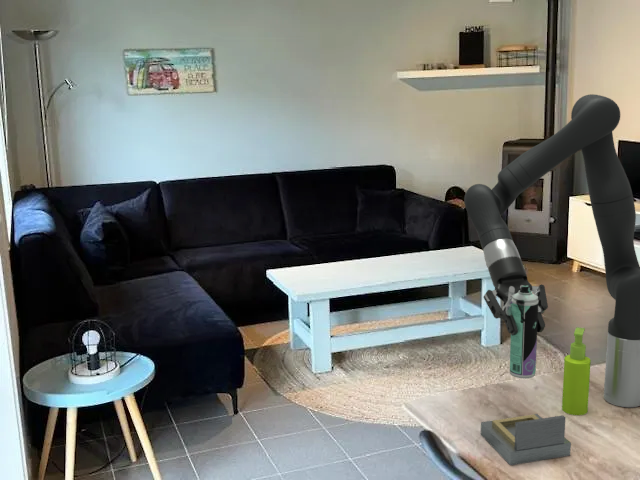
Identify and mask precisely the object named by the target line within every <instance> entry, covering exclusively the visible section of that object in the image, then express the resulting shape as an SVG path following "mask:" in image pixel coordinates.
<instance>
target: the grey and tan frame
mask: <svg viewBox="0 0 640 480" xmlns="http://www.w3.org/2000/svg"><path fill="white" fill-rule="evenodd" d="M565 430H566V416H565V415H555V416H548V417H544V418H543V417H541V416H540V415H539V414H538V413H534V414H528V415H521V416H515V417H514V416H513V417H507V418H500V419H494V420H493V419H492V420H487V421H481V422H480V436H482V438H483V439H484V440H485V441H486V442H487V443H488V444H489V445H491V447H492V448H493V449H494V450H495V451H496V452H497V453H498V454H499V455H500V456H501V457H502V459H503V460H505V461H506V463H507V464H509V466H515V465H522V464H526V463H532V462H539V461H545V460H551V459H552V460H553V459H558V458H564V457H570V456H571V449H572V447H571V446H572V442H571V441H570V440H568V439H567V438H566V437H565V436H566V435H565V434H566V431H565Z"/></svg>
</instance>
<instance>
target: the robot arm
mask: <svg viewBox="0 0 640 480" xmlns="http://www.w3.org/2000/svg"><path fill="white" fill-rule="evenodd" d="M570 114H571V115H570V116H571V117H570V118H571V120H570V121H568V123H566V125H564V127H562V128H561V129H560V130H558V131H557V132H556V133H554V134H553V135H551V136H549V137H548V138H546V139H544V140H543V141H542V142H539V144H537V145H534V146H533V147H530V149H528V150H527V151H525V152H523V153H521V154H520V155H519V156H518V157H516V158H515V159H514V160H512V161H511V162H510V163H509V164H508V165H506V166H505V167H504V168H502V169H501V170H500V171H499V172H498V174H497V183H496V184H495V185H494V187H492V189H491V188H490V187H489V186H487V185H486V184H482V183H477V184H473V185H471V186H470V187H469V188H467V190H466V192H465V195H464V199H463V200H464V202H463V203H464V207H465V209H466V211H467V214H468V217H469V218H470V221H471V223H472V225H473V227H474V229H475V231H476V233H477V236H478V239H479V243H480V246H481V248H482V252H483V256H484V261H485V264H486V265H485V266H486V268H487V271H488V273H489V276H490V279H491V282H492V285H493V287H494V290H491V289H488V290H487V291H486V292H485V294H484V295H483V300H484V302H485V303H486V305H487V307H488V308H489V311H490V312H491V314H492V316H493V318H495V319H502V320H503V321H504V324H505V327H506V329H507V332H508V333H509V334H510V336H511V335H516V334H517V333H518V329H517V326H516V323H515V320H514V317H513V316H511V314H512V296H513V295H514V294H516V293H518V292H519V290H520V289H521V286H524V285H529V286H530V290H531V291H532V293H533V294H534V295H537V296H538V324H537V333H542V332H543V331H544V330H545V328H546V323H545V320H544V317H543V315H542V314H544V313H545V311H546V310H548V308H549V304H548V299H547V293H546V287H545V285H544V284H539V286H538V285H537V286H536V285H532V283H530V282H529V280H528V275H527V272H526V270H525V267H524V264H523V261H522V258H521V256H520V253H519V250H518V249H517V246H516V245H515V243H514V240H513V236H512V234H511V232H510V228H509V227H508V225H507V223H506V221H505V220H504V219H503V218H502V216H503V214H504V213H506V211H507V210H508V209H509V208H510V206H511V205H512V204H513V203H514V202H515V201H516V199H517V198H518V196H520V194H522V193H523V192H525V191H526V190H527V189H529V188H530V187H531V186H533V185H534V184H536V183H537V182H538V181H539V180H540V179H542V178H543V177H544V176H545V175H547V174H548V173H549V172H550V171H552V170H554V169H555V168H556V167H557V166H558V165H560V164H561V163H562V162H565V160H567V159H568V158H570V157H571V156H574V155H575V154H576V153H577V152H579V151H581V153H582V158H583V161H584V169H585V177H586V184H587V189H588V195H589V201H590V206H591V209H592V210H591V211H592V215H593V220H594V222H595V226H596V231H597V235H598V239H599V241H600V245H601V248H602V253H603V261H604V273H605V283H606V288H607V291H608V293H609V295H610V297H612V298H613V300H614V301H615V304H614V305H615V306H614V315H613V317H612V318H611V319H609V321H608V326H607V339H606V340H607V341H606V342H607V343H606V355H605V356H606V357H605V369H604V383H603V398H604V400H605V401H606V402H607V403H609V404H612V405H614V406H617V407H618V406H619V407H623V408H637V407H640V264H639V260H638V256H637V253H636V250H635V249H636V248H635V244H634V243H635V242H634V241H635V240H634V239H635V238H634V236H635V228H636V221H637V218H636V217H637V216H636V215H637V214H636V212H637V211H636V207H635V201H634V195H633V191H632V187H631V184H630V180H629V178H628V177H627V176H628V175H627V174H626V170H625V169H624V166H623V165H622V162H621V160H620V157H619V156H618V153H617V150H616V147H615V142H614V141H615V140H614V137H613V136H614V135H613V134H614V133H613V132H614V130H615V129H616V128H617V127H618V125H619V124H620V121H621V110H620V107H619V105H618V104H617V103H616V101H614V100H613V99H612V98H609V97H606V96H604V95H600V94H593V93H592V94H586V95H583V96H581V97H580V98H579V99H578V100H576V101H575V103H574V105H573V106H572V109H571V113H570ZM497 299H500V300H501V301H502V307H501V305H500V303H499V301H498V300H497Z"/></svg>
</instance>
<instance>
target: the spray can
mask: <svg viewBox="0 0 640 480" xmlns="http://www.w3.org/2000/svg"><path fill="white" fill-rule="evenodd" d="M511 316H513V317H514V320H515V323H516V326H517V329H518V333H517V334H516V335H511V334H510V343H509V344H510V347H509V348H510V349H509V375H511V376H512V377H513V378H517V379H532V378H534V377H535V376H536V371H537V350H538V349H537V343H538V342H537V341H538V332H537V324H538V296H537V295H534V293H533V292H532V291H531V290H530V286H529V285H524V286H521V289H520V290H519V292H518V293H516V294H514V295H513V296H512V314H511Z"/></svg>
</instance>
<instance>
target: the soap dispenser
mask: <svg viewBox="0 0 640 480" xmlns="http://www.w3.org/2000/svg"><path fill="white" fill-rule="evenodd" d="M585 329H586V328H585V327H578V326H577V327H575V330H574V333H573V336H574V342H572V343H571V344H570V350H569V351H570V352H569V354H566V355H565V356H564V357H563V358H564V359H563V375H562V376H563V379H562V380H563V381H562V396H561V397H562V398H561V399H562V400H561V410H562V412H564V413H565V414H567V415H571V416H584V415H586V414H587V413H588V410H589V393H590V375H591V363H592V362H591V361H592V360H591V358H590V357H589V356H586V352H587V346H586V344H585V343H583V337H584V333H585Z"/></svg>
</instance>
